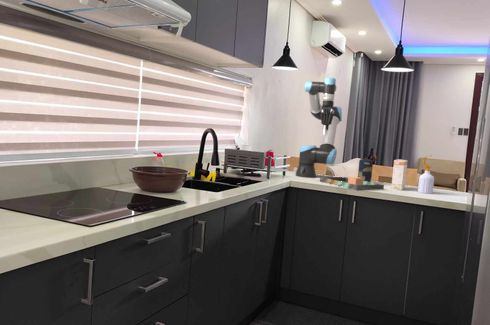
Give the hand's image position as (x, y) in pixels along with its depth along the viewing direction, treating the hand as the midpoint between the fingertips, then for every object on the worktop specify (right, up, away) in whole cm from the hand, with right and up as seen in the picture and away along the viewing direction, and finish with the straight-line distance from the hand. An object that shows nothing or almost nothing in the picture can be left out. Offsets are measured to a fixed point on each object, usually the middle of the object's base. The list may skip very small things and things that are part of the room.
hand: (325, 134), depth 300 cm
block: (+17, -35, -14) cm, 42 cm away
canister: (+30, -34, +10) cm, 46 cm away
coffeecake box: (+48, -37, -9) cm, 61 cm away
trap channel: (+15, -35, -11) cm, 39 cm away
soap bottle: (+62, -39, -18) cm, 76 cm away
